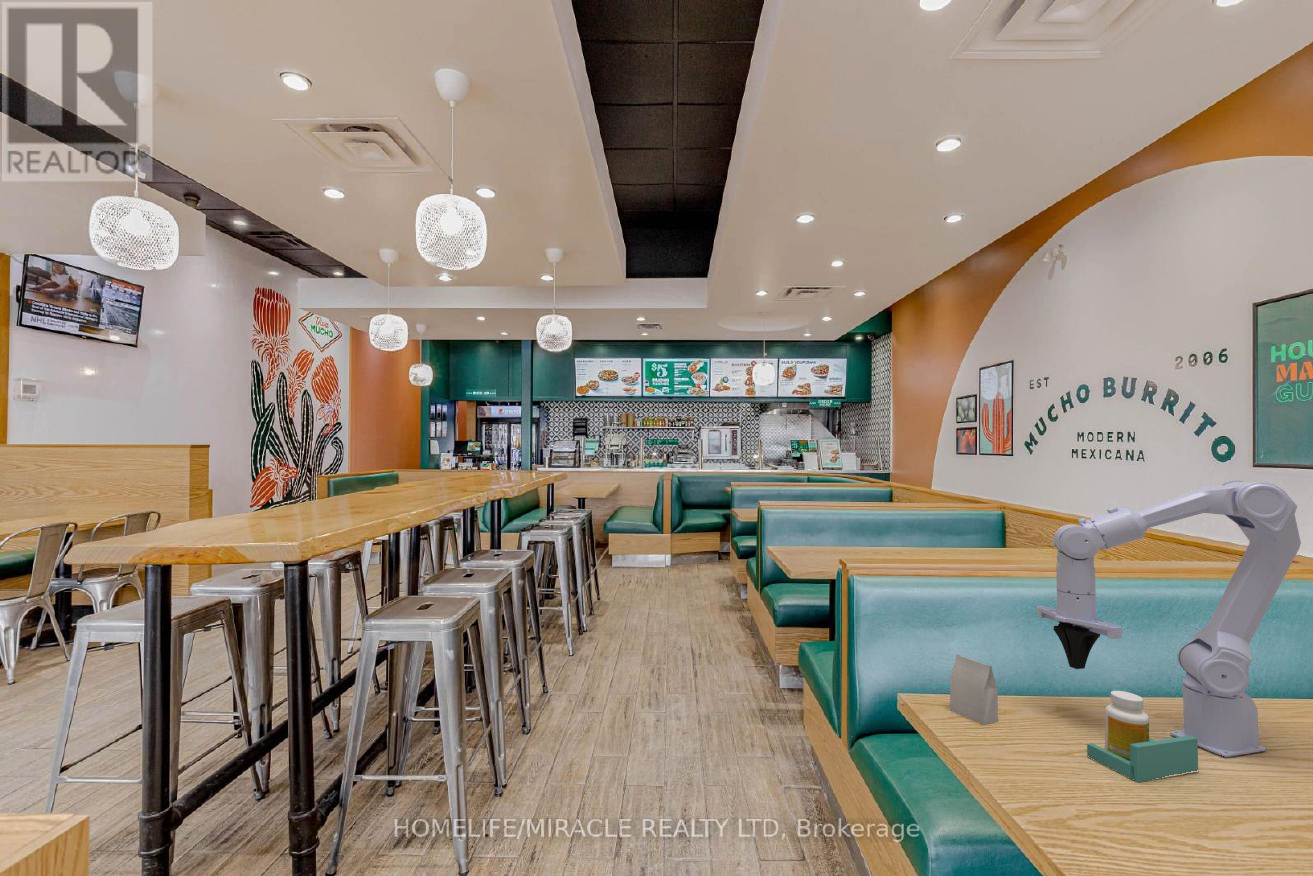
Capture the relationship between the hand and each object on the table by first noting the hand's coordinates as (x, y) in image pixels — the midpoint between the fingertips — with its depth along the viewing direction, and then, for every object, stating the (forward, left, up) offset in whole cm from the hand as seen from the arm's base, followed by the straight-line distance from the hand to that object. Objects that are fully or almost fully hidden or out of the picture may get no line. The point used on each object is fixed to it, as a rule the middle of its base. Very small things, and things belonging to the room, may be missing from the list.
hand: (1077, 667), depth 104 cm
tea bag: (+17, -6, -10) cm, 20 cm away
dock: (+5, +14, -9) cm, 18 cm away
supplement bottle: (+5, +12, -10) cm, 16 cm away
